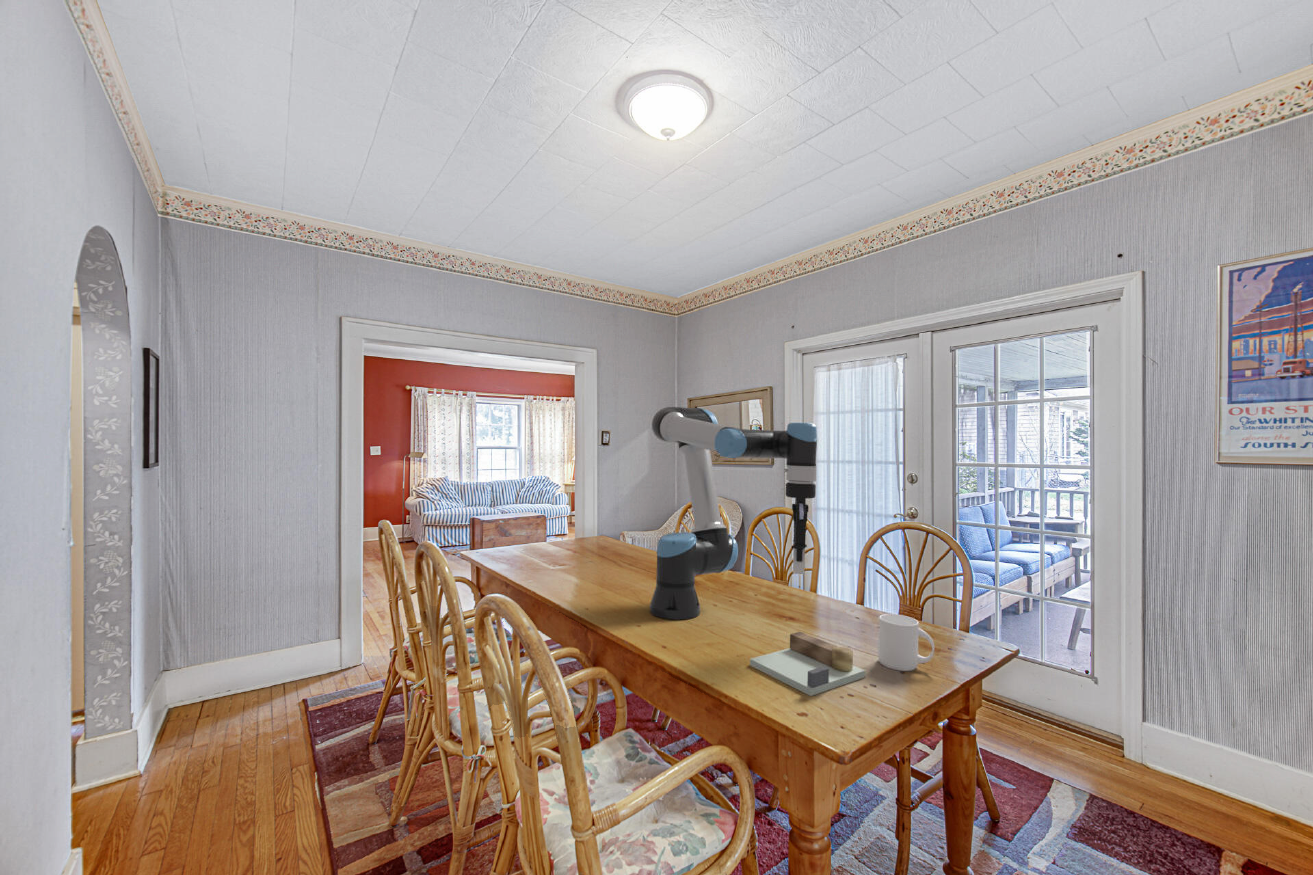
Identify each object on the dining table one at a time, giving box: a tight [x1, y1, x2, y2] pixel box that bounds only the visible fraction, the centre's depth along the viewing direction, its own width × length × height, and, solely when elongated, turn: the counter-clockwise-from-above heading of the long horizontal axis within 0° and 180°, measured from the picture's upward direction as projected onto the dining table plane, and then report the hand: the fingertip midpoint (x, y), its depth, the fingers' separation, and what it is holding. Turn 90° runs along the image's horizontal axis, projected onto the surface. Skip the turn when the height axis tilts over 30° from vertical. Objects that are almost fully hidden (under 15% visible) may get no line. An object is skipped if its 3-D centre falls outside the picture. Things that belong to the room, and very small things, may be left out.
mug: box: [877, 613, 935, 672], centre depth 130 cm, size 9×12×11 cm
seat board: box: [749, 647, 866, 697], centre depth 126 cm, size 18×18×2 cm
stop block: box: [807, 666, 829, 688], centre depth 115 cm, size 1×5×3 cm, turn 124°
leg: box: [789, 631, 854, 671], centre depth 129 cm, size 16×4×4 cm, turn 34°
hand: (798, 573), depth 143 cm, fingers closed
